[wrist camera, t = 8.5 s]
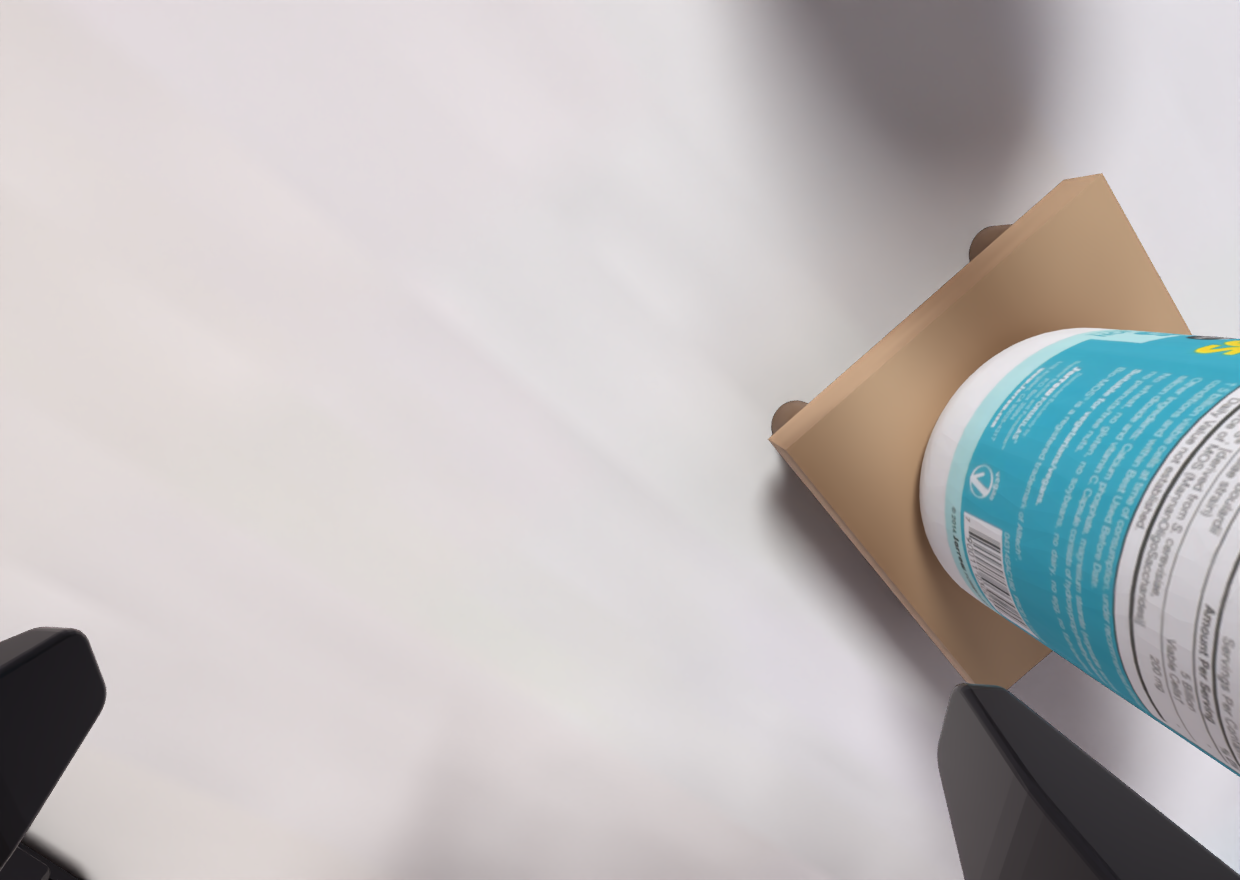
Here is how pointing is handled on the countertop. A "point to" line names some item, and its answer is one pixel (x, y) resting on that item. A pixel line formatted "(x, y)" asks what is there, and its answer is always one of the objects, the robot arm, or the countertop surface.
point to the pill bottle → (1105, 513)
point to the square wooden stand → (931, 374)
